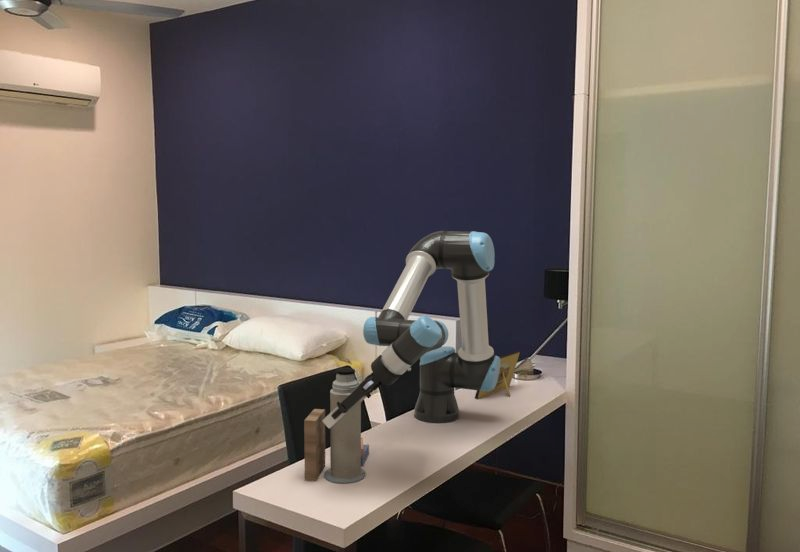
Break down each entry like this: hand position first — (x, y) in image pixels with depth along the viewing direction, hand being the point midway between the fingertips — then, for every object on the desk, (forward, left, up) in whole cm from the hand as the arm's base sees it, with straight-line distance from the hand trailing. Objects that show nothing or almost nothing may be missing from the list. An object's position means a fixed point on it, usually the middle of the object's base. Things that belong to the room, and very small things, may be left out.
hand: (336, 416), depth 180 cm
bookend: (0, -6, -16) cm, 17 cm away
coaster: (0, +2, -16) cm, 16 cm away
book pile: (-11, +2, -16) cm, 19 cm away
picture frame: (-84, +44, -16) cm, 96 cm away
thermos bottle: (0, +2, -15) cm, 16 cm away
